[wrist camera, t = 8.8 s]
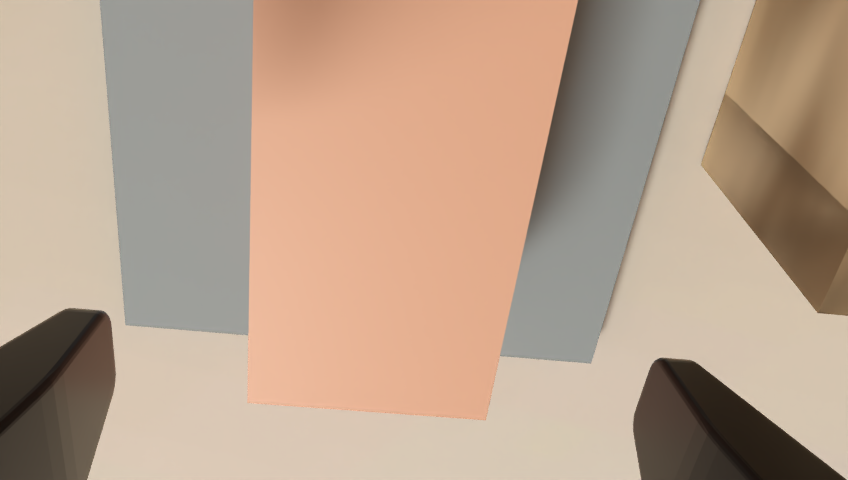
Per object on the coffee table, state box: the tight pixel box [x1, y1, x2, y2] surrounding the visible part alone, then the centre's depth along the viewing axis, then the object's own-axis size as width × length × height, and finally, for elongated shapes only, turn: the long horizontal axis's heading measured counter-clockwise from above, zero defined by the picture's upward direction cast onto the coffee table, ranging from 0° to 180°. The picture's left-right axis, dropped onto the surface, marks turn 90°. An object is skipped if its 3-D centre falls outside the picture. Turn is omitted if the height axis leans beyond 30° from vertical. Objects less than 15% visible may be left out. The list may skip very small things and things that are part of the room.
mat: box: [100, 0, 700, 363], centre depth 15 cm, size 10×10×1 cm
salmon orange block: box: [247, 0, 578, 420], centre depth 12 cm, size 9×4×4 cm, turn 173°
